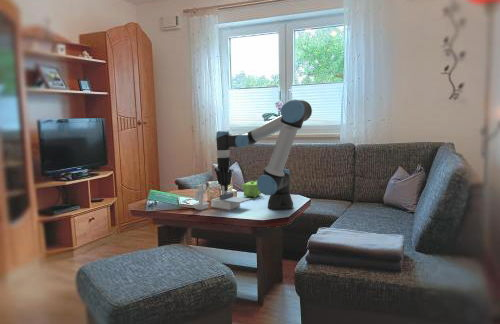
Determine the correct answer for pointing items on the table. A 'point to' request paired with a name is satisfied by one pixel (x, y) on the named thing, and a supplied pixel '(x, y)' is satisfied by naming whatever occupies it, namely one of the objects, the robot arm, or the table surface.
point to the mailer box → (223, 204)
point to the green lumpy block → (251, 189)
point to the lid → (232, 198)
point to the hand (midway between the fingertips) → (224, 196)
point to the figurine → (200, 198)
